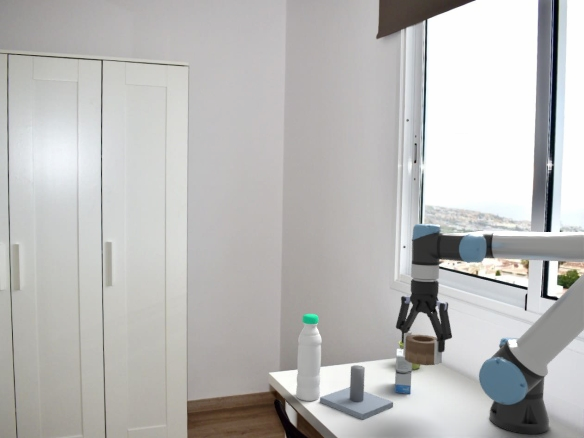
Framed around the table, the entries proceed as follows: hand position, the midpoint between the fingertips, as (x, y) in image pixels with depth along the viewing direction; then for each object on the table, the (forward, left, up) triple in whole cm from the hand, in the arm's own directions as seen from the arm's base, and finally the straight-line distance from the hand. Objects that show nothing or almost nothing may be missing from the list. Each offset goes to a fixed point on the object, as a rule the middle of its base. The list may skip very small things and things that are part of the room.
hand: (422, 359), depth 154 cm
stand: (+16, +8, -16) cm, 24 cm away
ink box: (+15, -14, -16) cm, 26 cm away
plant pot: (+26, -35, -16) cm, 47 cm away
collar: (0, 0, 0) cm, 0 cm away
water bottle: (+29, +15, -16) cm, 37 cm away
